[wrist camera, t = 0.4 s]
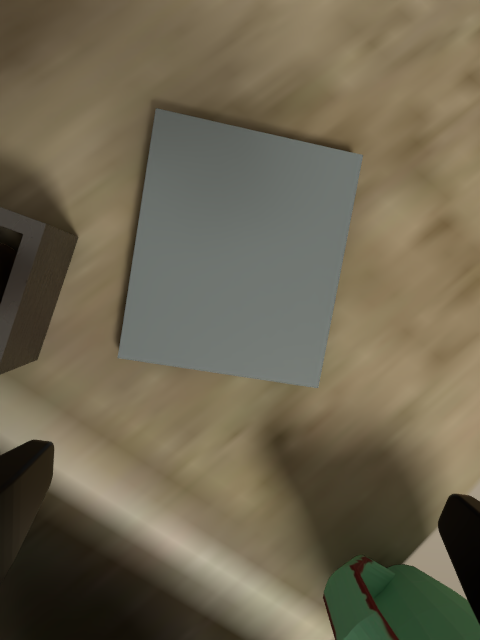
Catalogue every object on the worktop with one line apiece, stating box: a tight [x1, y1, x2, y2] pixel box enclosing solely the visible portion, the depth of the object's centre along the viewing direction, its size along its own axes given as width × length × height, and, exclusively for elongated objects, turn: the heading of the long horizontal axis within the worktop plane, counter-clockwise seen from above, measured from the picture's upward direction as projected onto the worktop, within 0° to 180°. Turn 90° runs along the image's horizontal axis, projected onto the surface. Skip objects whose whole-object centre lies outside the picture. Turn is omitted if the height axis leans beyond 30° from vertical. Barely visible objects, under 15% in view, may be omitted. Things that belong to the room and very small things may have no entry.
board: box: [118, 108, 363, 388], centre depth 20 cm, size 14×12×1 cm
